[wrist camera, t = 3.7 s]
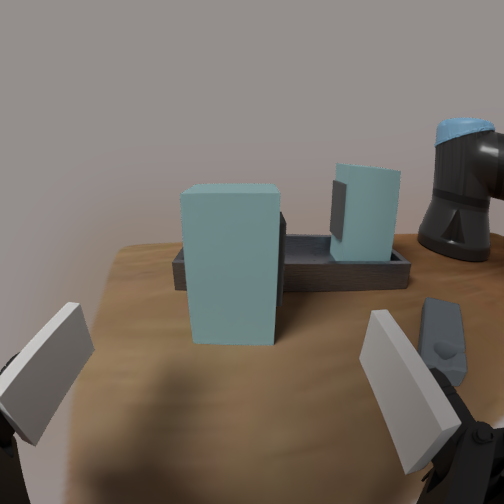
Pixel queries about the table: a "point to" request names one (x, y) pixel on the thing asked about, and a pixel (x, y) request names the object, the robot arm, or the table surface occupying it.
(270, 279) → the finger
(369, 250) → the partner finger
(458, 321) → the bracket
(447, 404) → the robot arm
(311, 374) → the table surface
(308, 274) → the dark gray tray
